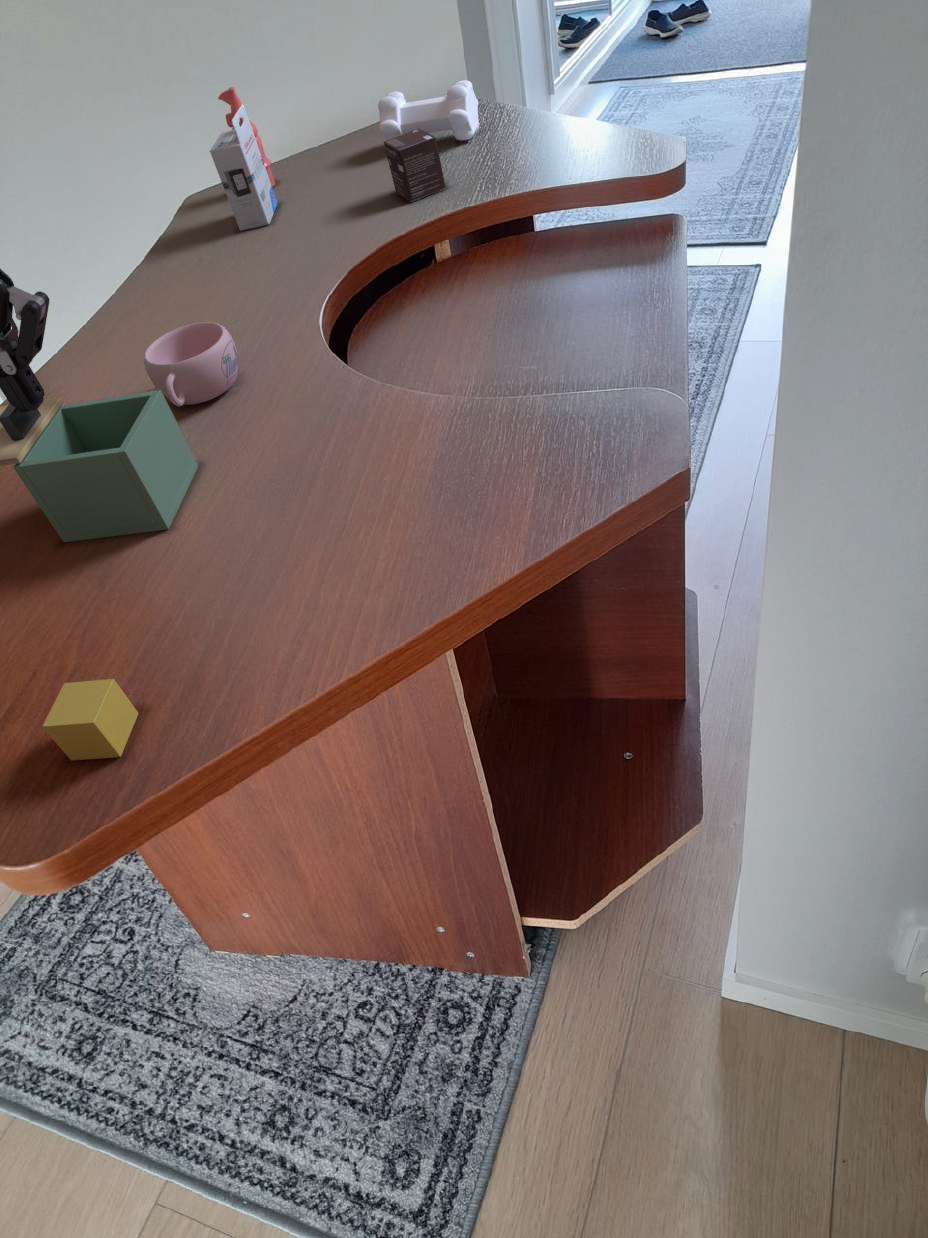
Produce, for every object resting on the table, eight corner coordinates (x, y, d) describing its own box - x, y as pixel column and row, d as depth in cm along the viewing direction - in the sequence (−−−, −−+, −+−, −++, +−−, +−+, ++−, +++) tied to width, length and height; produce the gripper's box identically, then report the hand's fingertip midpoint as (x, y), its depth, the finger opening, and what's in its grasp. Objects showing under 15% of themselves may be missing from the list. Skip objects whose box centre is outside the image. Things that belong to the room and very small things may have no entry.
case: (168, 529, 83) (124, 451, 77) (63, 542, 86) (12, 467, 80) (198, 465, 90) (160, 389, 84) (100, 479, 93) (56, 405, 87)
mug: (182, 371, 106) (160, 325, 102) (259, 362, 104) (239, 314, 100) (143, 429, 98) (118, 382, 94) (226, 420, 96) (203, 371, 92)
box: (395, 193, 135) (382, 141, 129) (431, 179, 136) (419, 127, 130) (410, 203, 130) (397, 149, 125) (447, 188, 131) (436, 135, 126)
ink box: (249, 210, 143) (212, 109, 133) (279, 203, 142) (244, 101, 132) (239, 231, 137) (199, 127, 127) (269, 225, 136) (232, 119, 126)
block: (120, 757, 64) (93, 722, 61) (70, 760, 65) (41, 726, 62) (139, 713, 67) (113, 678, 64) (91, 717, 68) (63, 682, 65)
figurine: (243, 194, 149) (207, 95, 139) (256, 182, 152) (222, 84, 142) (270, 191, 147) (235, 90, 137) (282, 178, 151) (249, 79, 140)
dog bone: (384, 158, 147) (371, 104, 142) (400, 138, 153) (387, 86, 147) (471, 146, 142) (461, 89, 137) (484, 126, 148) (474, 71, 143)
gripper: (-188, 247, 68) (-51, 440, 79) (-35, 215, 65) (83, 419, 77) (-134, 208, 73) (-13, 394, 85) (9, 177, 70) (114, 374, 82)
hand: (33, 406), depth 81 cm, fingers closed
